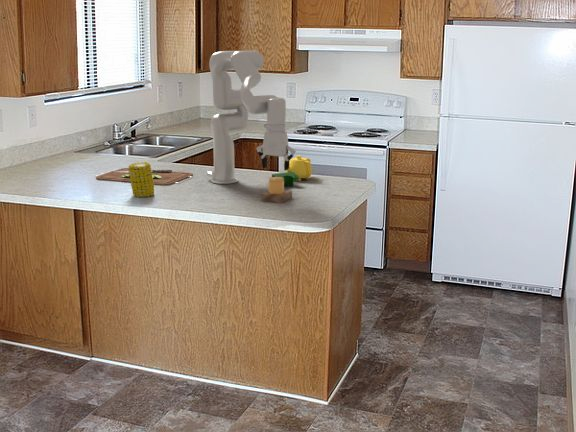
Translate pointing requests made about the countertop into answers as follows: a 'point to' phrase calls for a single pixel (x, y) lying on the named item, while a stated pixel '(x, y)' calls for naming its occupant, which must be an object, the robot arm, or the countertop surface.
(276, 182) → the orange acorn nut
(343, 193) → the countertop surface
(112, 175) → the chopping board
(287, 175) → the clamp
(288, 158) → the robot arm
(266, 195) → the post block
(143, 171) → the food
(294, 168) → the teapot
